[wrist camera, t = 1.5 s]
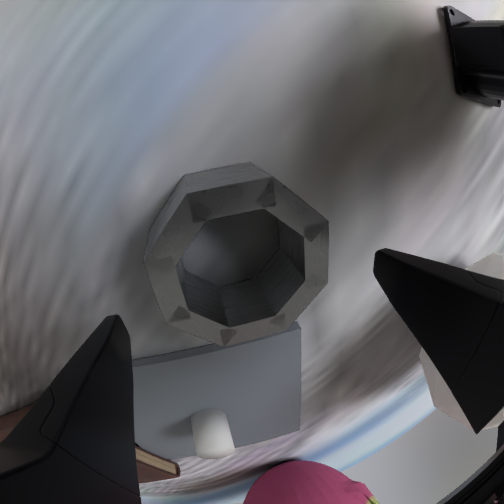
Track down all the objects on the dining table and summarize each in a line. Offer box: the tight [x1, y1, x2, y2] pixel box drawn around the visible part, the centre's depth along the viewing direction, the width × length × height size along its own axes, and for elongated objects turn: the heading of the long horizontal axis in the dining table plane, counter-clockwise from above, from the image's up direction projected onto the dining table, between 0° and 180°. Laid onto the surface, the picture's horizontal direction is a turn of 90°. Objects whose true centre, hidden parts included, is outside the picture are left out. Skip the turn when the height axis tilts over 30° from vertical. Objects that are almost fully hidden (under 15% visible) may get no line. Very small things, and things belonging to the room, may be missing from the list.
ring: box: [143, 162, 329, 347], centre depth 11 cm, size 7×7×3 cm
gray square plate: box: [132, 322, 301, 459], centre depth 17 cm, size 14×14×4 cm
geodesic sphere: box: [419, 253, 504, 431], centre depth 14 cm, size 15×14×14 cm
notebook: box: [0, 404, 180, 483], centre depth 17 cm, size 15×20×2 cm
